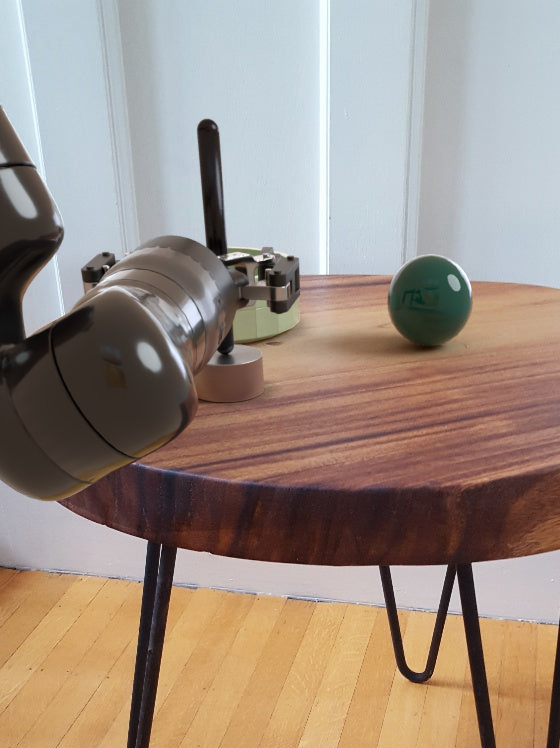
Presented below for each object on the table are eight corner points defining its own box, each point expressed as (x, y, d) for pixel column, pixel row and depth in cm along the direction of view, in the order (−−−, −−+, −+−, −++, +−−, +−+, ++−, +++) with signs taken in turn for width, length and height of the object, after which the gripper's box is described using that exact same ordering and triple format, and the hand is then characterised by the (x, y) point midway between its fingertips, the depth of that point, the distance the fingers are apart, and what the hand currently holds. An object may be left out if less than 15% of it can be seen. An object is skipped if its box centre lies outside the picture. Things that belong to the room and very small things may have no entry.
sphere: (447, 361, 86) (452, 267, 82) (371, 348, 90) (371, 257, 85) (483, 341, 92) (490, 252, 88) (410, 329, 96) (413, 243, 91)
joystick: (190, 403, 76) (162, 122, 65) (192, 380, 81) (166, 115, 70) (265, 401, 77) (250, 122, 66) (263, 378, 82) (248, 115, 71)
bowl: (125, 351, 88) (116, 282, 85) (139, 307, 102) (131, 247, 99) (305, 346, 90) (303, 279, 87) (294, 304, 104) (292, 245, 101)
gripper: (276, 250, 56) (305, 207, 69) (36, 245, 56) (112, 203, 70) (282, 378, 60) (308, 314, 74) (58, 372, 61) (125, 309, 74)
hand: (212, 260), depth 72 cm, fingers open, 8 cm apart
